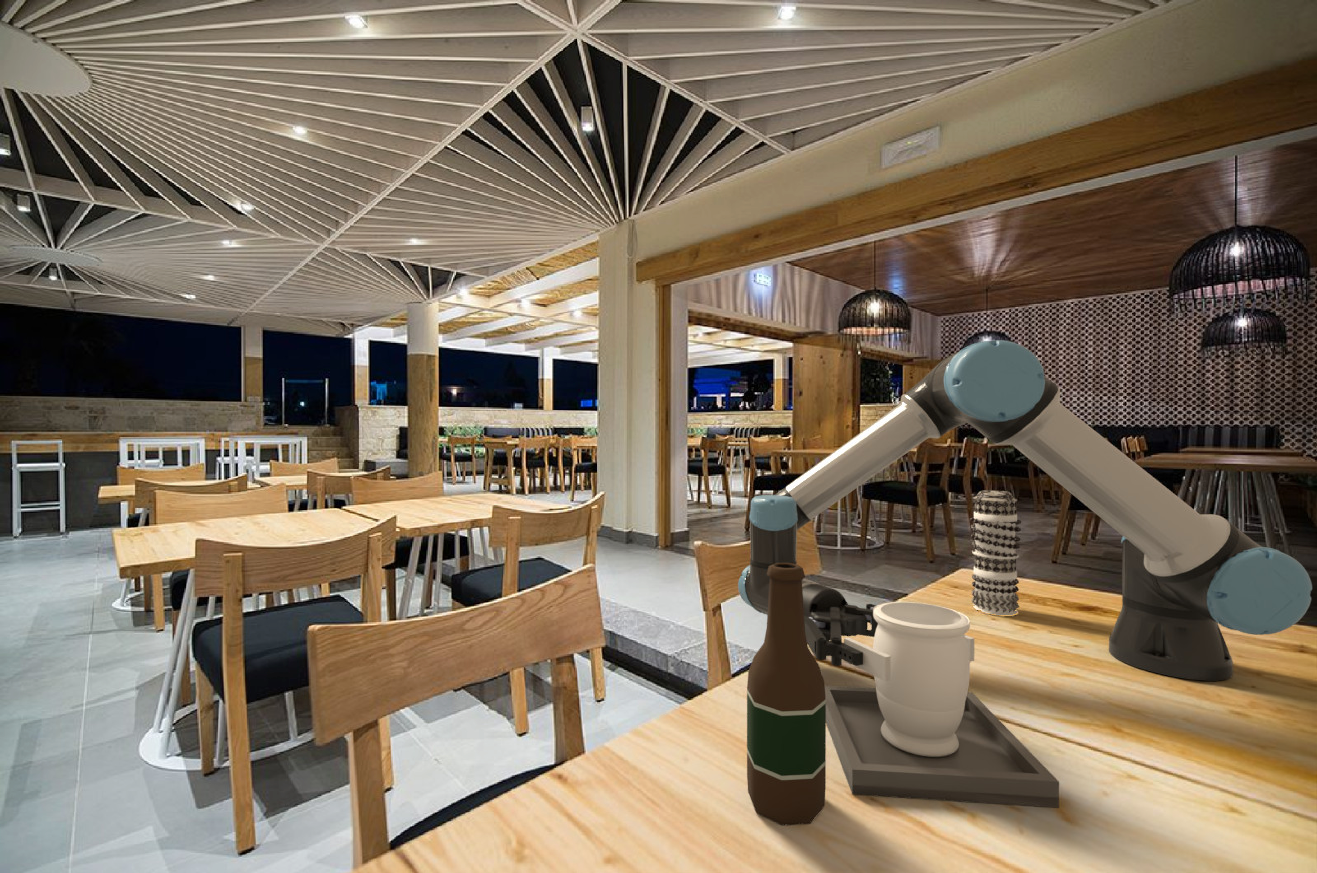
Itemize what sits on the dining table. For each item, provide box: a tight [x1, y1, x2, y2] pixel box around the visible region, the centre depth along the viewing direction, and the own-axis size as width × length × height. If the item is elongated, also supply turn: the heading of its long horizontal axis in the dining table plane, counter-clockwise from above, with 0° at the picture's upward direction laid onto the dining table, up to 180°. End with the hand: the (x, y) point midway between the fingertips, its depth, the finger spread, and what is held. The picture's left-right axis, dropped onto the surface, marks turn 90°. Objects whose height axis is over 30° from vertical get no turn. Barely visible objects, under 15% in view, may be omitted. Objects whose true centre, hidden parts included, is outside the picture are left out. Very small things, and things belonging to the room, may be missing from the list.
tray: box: [825, 685, 1060, 808], centre depth 69 cm, size 20×20×3 cm
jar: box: [872, 601, 971, 757], centre depth 69 cm, size 11×10×15 cm
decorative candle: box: [970, 490, 1022, 615], centre depth 122 cm, size 9×9×25 cm
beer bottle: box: [746, 563, 827, 826], centre depth 59 cm, size 8×8×24 cm
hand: (932, 659), depth 67 cm, fingers open, 13 cm apart
